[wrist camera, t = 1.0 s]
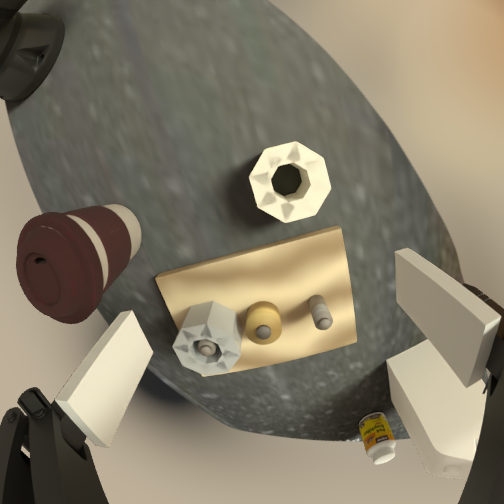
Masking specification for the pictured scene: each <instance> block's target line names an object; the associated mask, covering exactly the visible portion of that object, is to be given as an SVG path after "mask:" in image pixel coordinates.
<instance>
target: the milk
mask: <svg viewBox="0 0 504 504" xmlns="http://www.w3.org/2000/svg"><path fill="white" fill-rule="evenodd" d="M386 362H387V369H388V376H389V384H390V393H391V401H392V403H393V405H394V407H395V408H396V410H397V412H398V414H399V416H400V418H401V420H402V422H403V424H404V426H405V428H406V430H407V432H408V434H409V436H410V438H411V440H412V442H413V444H414V446H415V448H416V450H417V452H418V455H419V457H420V459H421V461H422V463H423V465H424V467H425V470H426V471H427V473H429V474H430V475H432V476H435V477H441V478H449V479H461V480H465V481H466V482H467V479H468V476H469V473H470V470H471V466H472V463H473V460H474V456H475V452H476V449H477V445H478V440H479V436H480V431H481V427H482V421H483V416H484V410H485V403H486V396H487V390H486V392H485V394H482V393H483V390H484V388H485V384H484V382H483V381H482V379H481V380H479V381H478V382H476V383H475V384H473V385H471V386H469V387H468V388H465V386H464V385H463V384H462V382H461V381H460V379H459V378H458V377H457V375H456V374H455V373H454V371H453V370H452V369H451V367H450V366H449V365H448V363H447V362H446V361H445V360H444V358H443V357H442V356H441V354H440V353H439V352H438V351H437V349H436V348H435V347H434V346H433V344H432V343H431V342H430V341H429V339H427V340H425V341H423V342H421V343H420V344H418V345H416V346H414V347H412V348H410V349H408V350H406V351H404V352H402V353H400V354H398V355H396V356H394V357H392V358H390V359H388V360H386Z"/></svg>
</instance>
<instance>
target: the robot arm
mask: <svg viewBox="0 0 504 504" xmlns="http://www.w3.org/2000/svg"><path fill="white" fill-rule="evenodd" d="M26 2H27V0H0V98H1V99H3V100H7V101H20V100H22V99H24V98H26V97H27V96H29V95H30V94H31V93H32V92H33V91H34V90H35V89H36V88H37V87H38V86H39V85H40V84H41V83H42V81H43V80H44V79H45V77H46V76H47V74H48V73H49V71H50V70H51V68H52V66H53V65H54V63H55V61H56V59H57V57H58V54H59V52H60V49H61V46H62V43H63V39H64V24H63V22H62V21H61V20H60V19H59V18H57V17H55V16H53V15H51V14H32V13H19V12H18V10H19V9H20V8H21V7H22V6H23V5H24V4H25V3H26ZM395 263H396V302H397V303H398V304H399V305H400V306H401V307H402V309H403V310H404V311H405V312H406V313H407V314H408V316H409V317H410V318H411V319H412V320H413V321H414V323H415V324H416V325H417V326H418V327H419V329H420V330H421V331H422V332H423V333H424V335H425V336H426V337H427V338H428V339H429V341H430V342H431V343H432V344H433V346H434V347H435V348H436V349H437V351H438V352H439V353H440V354H441V356H442V357H443V358H444V360H445V361H446V362H447V363H448V365H449V366H450V367H451V369H452V370H453V371H454V373H455V374H456V375H457V377H458V378H459V379H460V381H461V382H462V384H463V385H464V386H465V388H468V387H469V386H471V385H473V384H475V383H476V382H478V381H479V380H481V379H482V376H483V374H484V371H485V368H487V369H488V370H489V371H490V376H489V378H488V381H487V383H486V385H485V388H484V390H483V393H482V394H485V392H486V390H487V396H486V403H485V410H484V416H483V421H482V427H481V431H480V436H479V440H478V445H477V449H476V452H475V456H474V460H473V463H472V466H471V470H470V473H469V476H468V479H467V482H466V484H465V487H464V490H463V493H462V495H461V498H460V500H459V503H458V504H504V309H503V308H502V307H501V306H499V305H498V304H497V303H496V302H494V301H493V300H492V299H489V297H488V296H486V295H485V294H484V295H483V293H482V292H481V291H480V290H478V289H477V288H476V287H473V286H470V285H468V284H462V285H461V284H460V283H458V282H457V281H456V280H454V279H453V278H452V277H450V276H449V275H447V274H446V273H445V272H443V271H442V270H440V269H439V268H437V267H436V266H435V265H433V264H432V263H430V262H429V261H427V260H426V259H424V258H423V257H421V256H420V255H418V254H417V253H415V252H414V251H412V250H411V249H409V248H406V249H402V250H398V251H395ZM152 354H153V351H152V349H151V347H150V345H149V343H148V342H147V340H146V338H145V336H144V334H143V332H142V330H141V328H140V325H139V323H138V321H137V319H136V317H135V315H134V313H133V311H132V310H131V311H125V312H121V313H120V314H119V315H118V316H117V318H116V319H115V320H114V321H113V323H112V324H111V325H110V326H109V328H108V329H107V330H106V331H105V333H104V334H103V335H102V336H101V338H100V339H99V340H98V341H97V343H96V344H95V345H94V347H93V348H92V349H91V351H90V352H89V353H88V355H87V356H86V357H85V359H84V360H83V361H82V363H81V364H80V365H79V367H78V368H77V369H76V370H75V371H74V373H73V374H72V375H71V377H70V379H69V380H68V381H67V383H66V384H65V385H64V387H63V388H62V390H61V391H60V392H59V394H58V395H57V397H56V398H55V399H54V401H53V402H52V404H50V403H49V401H48V400H47V399H46V398H45V396H44V395H43V394H42V392H41V391H40V390H39V389H38V388H37V387H33V388H30V389H28V390H26V391H25V392H24V393H22V394H21V396H20V397H19V399H18V402H17V403H18V404H19V406H20V407H21V408H22V409H23V411H24V412H25V413H26V414H27V415H28V416H25V415H24V413H23V412H22V411H21V410H20V409H19V408H18V407H14V408H12V409H9V410H8V411H7V412H6V414H5V416H4V417H3V419H2V422H1V425H0V504H109V503H108V501H107V498H106V496H105V493H104V491H103V488H102V485H101V483H100V480H99V477H98V475H97V472H96V469H95V465H94V463H93V459H92V456H91V453H90V449H89V447H88V445H87V444H86V443H85V442H84V441H85V439H86V437H87V438H89V440H90V441H91V442H92V443H93V444H94V445H96V446H100V447H106V448H109V446H110V444H111V442H112V439H113V437H114V435H115V433H116V430H117V428H118V426H119V424H120V421H121V419H122V417H123V415H124V412H125V411H126V408H127V406H128V404H129V402H130V400H131V398H132V395H133V393H134V391H135V389H136V387H137V385H138V383H139V381H140V379H141V377H142V375H143V372H144V370H145V368H146V366H147V364H148V362H149V360H150V358H151V356H152ZM22 446H23V447H24V448H25V449H26V450H27V451H28V452H30V458H29V457H28V456H26V455H25V454H24V453H23V452H22V451H21V447H22Z"/></svg>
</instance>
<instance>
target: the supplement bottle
mask: <svg viewBox="0 0 504 504" xmlns="http://www.w3.org/2000/svg"><path fill="white" fill-rule="evenodd" d="M359 429H360V433H361V436H362V439H363V443H364V446H365V449H366V453H367V455H368V456H369V457H371V458H373V461H374V463H375V464H382V463H385V462H387V461H389V460H391V459H392V458H393V457H394V456H395V453H394V449H393V448H394V447H395V445H396V443H395V440H394V437H393V434H392V432H391V429H390V427H389V424H388V422H387V419H386V417H385V415H384V414H383V413H381V412H375V413H371V414H369V415H367V416H365V417H364V418H363V419H362V420H361V421H360V422H359Z"/></svg>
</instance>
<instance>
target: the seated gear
mask: <svg viewBox="0 0 504 504" xmlns="http://www.w3.org/2000/svg"><path fill="white" fill-rule="evenodd" d="M242 332H243V330H242V328H241V325H240V322H239V320H238V317H237V314H236V312H235V311H234V310H232V309H230V308H228V307H225V306H223V305H221V304H219V303H217V302H215V301H210V302H205V303H201V304H197V305H192V306H191V307H190V309H189V311H188V313H187V315H186V317H185V319H184V321H183V323H182V325H181V327H180V330H179V332H178V334H177V337H176V339H175V341H174V344H173V346H172V347H173V349H174V350H175V352H176V354H177V356H178V358H179V360H180V361H181V363H182V365H183V366H185V367H187V368H189V369H191V370H194V371H196V372H198V373H200V374H203V375H205V376H206V375H213V374H220V373H226V372H229V371H230V370H231V368H232V367H233V366H234V364H235V363H236V362H237V360H238V359H239V357H240V356H241V344H242ZM202 339H208V340H210V341H212V342H214V343H217V346H216V351H215V353H214V354H213V355H211V356H203V355H202V354H201V353H200V352H199V351H198V344H199V341H200V340H202Z"/></svg>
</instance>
